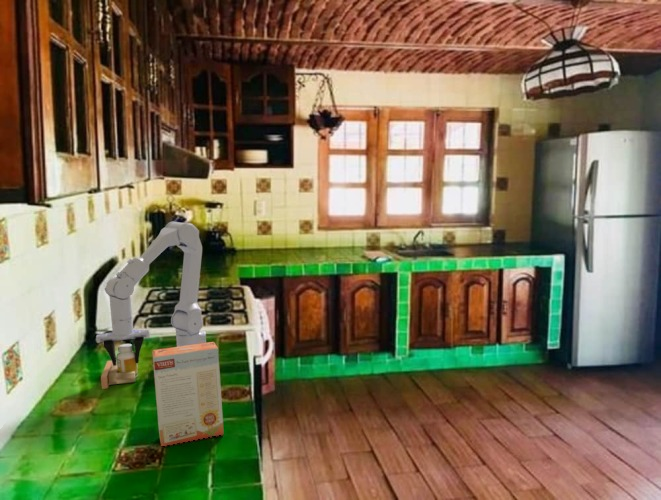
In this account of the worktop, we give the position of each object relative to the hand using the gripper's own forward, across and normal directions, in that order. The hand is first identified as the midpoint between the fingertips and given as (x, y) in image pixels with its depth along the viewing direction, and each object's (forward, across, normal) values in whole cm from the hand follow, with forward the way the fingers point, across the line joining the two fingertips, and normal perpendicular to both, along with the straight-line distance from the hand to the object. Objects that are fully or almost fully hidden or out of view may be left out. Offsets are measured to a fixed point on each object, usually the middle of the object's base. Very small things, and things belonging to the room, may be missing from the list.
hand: (125, 363), depth 168 cm
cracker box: (+5, +18, -44) cm, 48 cm away
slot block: (+4, -1, 0) cm, 4 cm away
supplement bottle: (+5, 0, 0) cm, 5 cm away
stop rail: (+4, -5, 0) cm, 7 cm away
